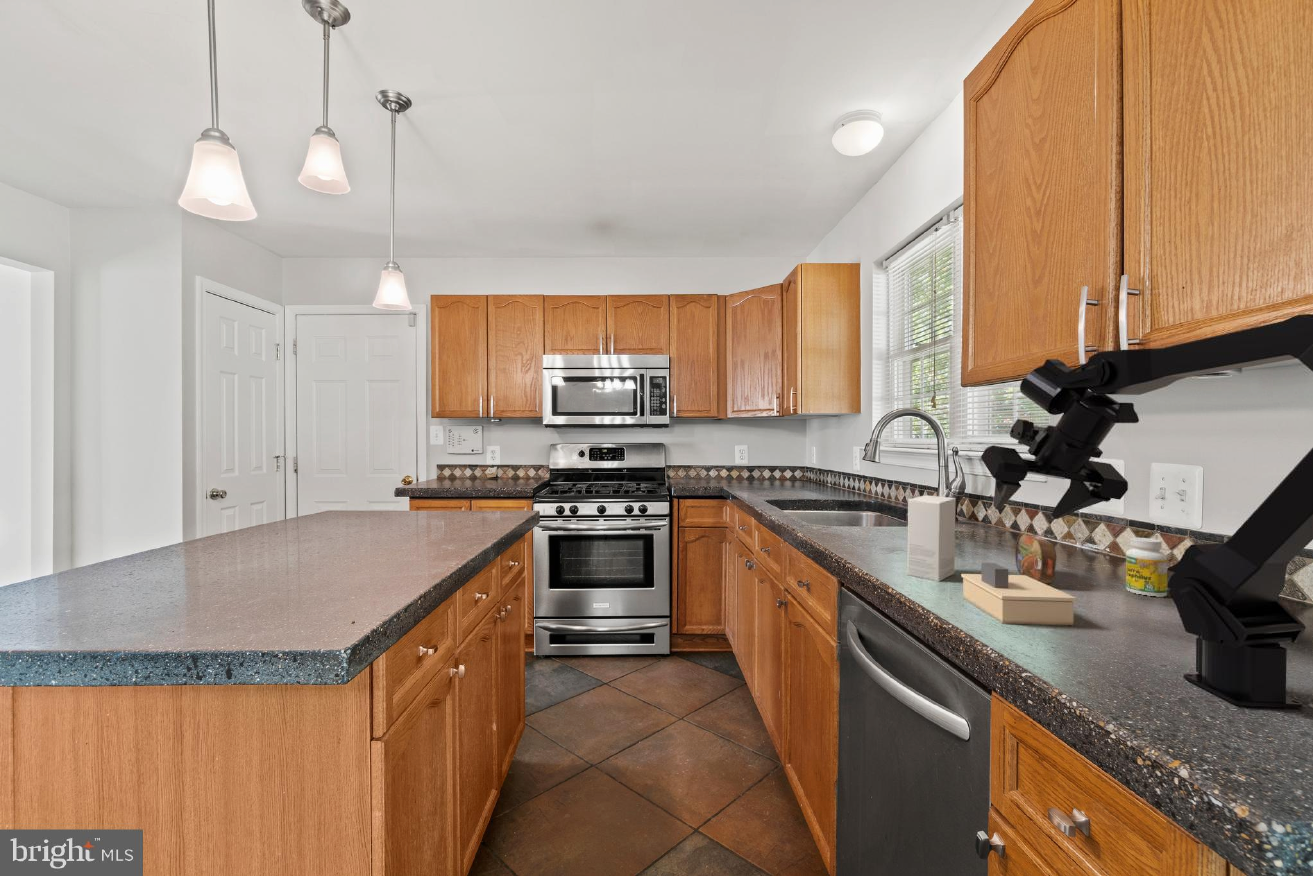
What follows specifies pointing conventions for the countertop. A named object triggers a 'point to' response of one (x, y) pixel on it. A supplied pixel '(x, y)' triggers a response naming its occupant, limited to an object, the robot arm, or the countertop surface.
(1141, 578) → the supplement bottle
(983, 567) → the carton lid
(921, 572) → the skincare box
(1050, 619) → the carton
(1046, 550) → the tin
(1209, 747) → the countertop surface
